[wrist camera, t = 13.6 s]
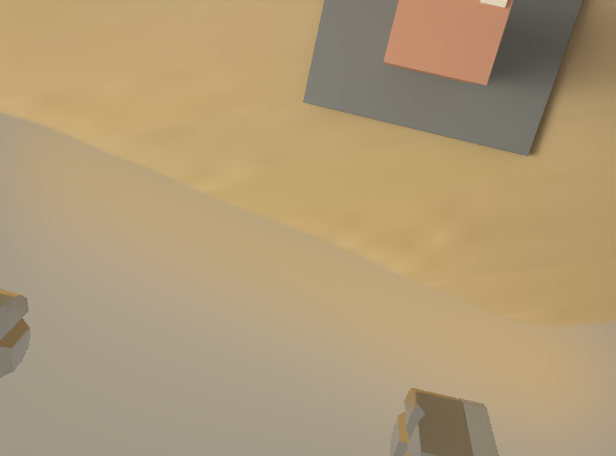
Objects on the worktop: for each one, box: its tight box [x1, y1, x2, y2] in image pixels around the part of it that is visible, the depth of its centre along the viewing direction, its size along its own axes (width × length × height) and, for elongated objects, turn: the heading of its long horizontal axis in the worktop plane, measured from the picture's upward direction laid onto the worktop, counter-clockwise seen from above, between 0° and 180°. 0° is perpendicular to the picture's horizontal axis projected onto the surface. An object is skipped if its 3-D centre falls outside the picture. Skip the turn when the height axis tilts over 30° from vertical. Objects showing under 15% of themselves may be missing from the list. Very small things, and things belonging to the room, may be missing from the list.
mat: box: [303, 0, 583, 156], centre depth 31 cm, size 14×10×1 cm
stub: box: [383, 0, 513, 85], centre depth 26 cm, size 4×4×9 cm
